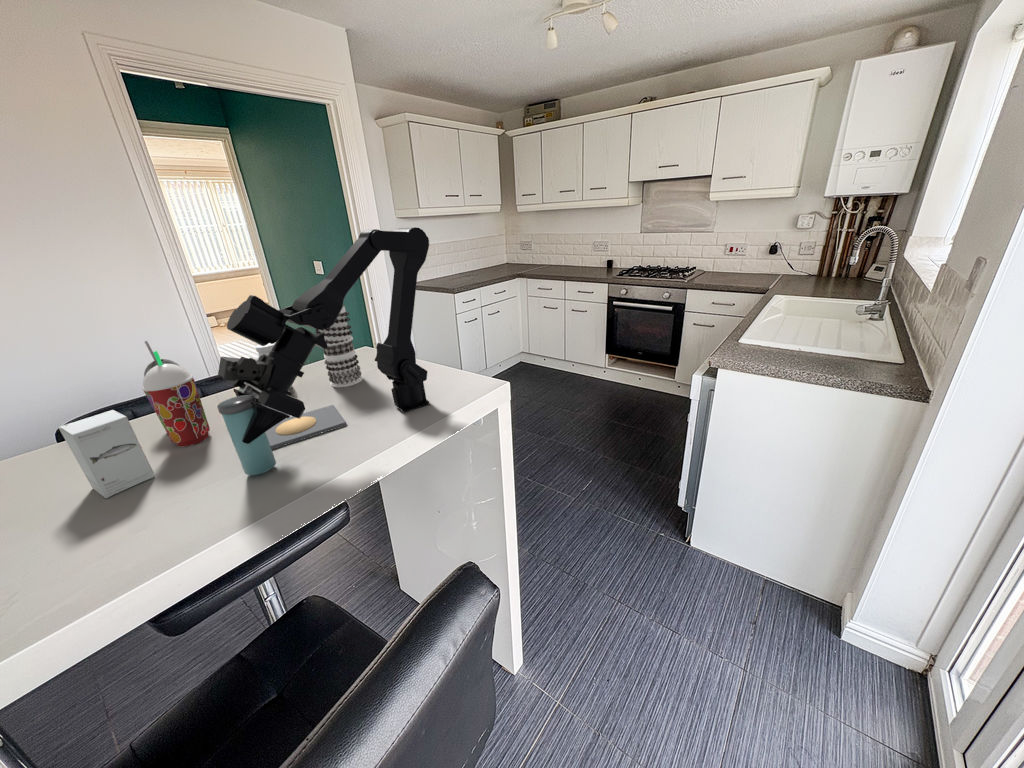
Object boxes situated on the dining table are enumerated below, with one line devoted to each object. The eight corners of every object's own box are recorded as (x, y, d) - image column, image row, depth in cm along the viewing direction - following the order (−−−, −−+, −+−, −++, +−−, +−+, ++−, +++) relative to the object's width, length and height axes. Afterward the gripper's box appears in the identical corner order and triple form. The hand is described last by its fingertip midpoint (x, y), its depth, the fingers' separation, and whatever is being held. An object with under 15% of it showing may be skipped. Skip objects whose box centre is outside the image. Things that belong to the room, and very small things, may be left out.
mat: (334, 407, 98) (333, 403, 98) (346, 425, 89) (345, 421, 89) (248, 433, 89) (246, 428, 89) (252, 455, 80) (250, 451, 80)
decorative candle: (347, 389, 109) (323, 294, 99) (321, 386, 112) (296, 294, 103) (371, 376, 116) (350, 287, 107) (346, 374, 120) (324, 287, 110)
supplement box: (105, 500, 70) (69, 435, 65) (91, 488, 74) (56, 426, 69) (157, 476, 76) (127, 415, 71) (141, 466, 79) (112, 408, 75)
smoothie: (224, 433, 90) (190, 346, 82) (183, 453, 83) (141, 360, 75) (202, 428, 93) (166, 344, 86) (160, 446, 86) (118, 357, 79)
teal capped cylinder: (275, 455, 77) (253, 392, 72) (279, 467, 73) (255, 401, 68) (242, 466, 75) (216, 401, 70) (244, 479, 70) (217, 412, 65)
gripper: (223, 329, 73) (173, 408, 70) (262, 344, 62) (203, 439, 59) (282, 358, 82) (239, 429, 79) (326, 375, 70) (278, 460, 67)
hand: (239, 438), depth 70 cm, fingers closed on teal capped cylinder, 5 cm apart
